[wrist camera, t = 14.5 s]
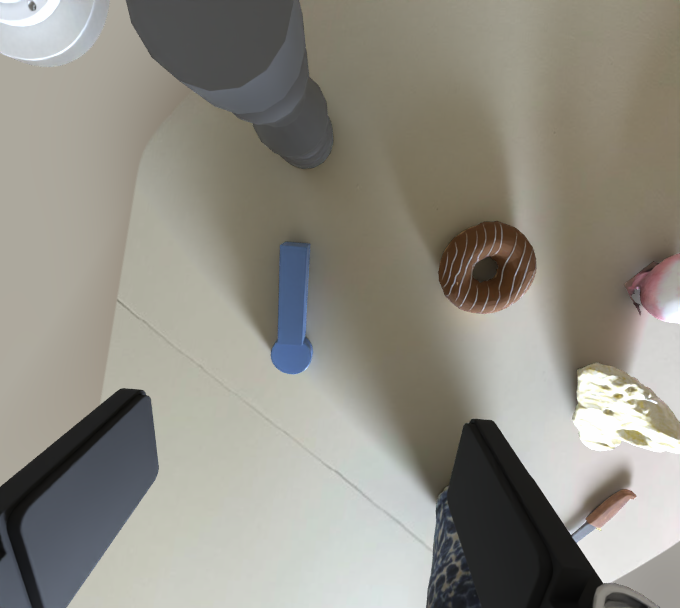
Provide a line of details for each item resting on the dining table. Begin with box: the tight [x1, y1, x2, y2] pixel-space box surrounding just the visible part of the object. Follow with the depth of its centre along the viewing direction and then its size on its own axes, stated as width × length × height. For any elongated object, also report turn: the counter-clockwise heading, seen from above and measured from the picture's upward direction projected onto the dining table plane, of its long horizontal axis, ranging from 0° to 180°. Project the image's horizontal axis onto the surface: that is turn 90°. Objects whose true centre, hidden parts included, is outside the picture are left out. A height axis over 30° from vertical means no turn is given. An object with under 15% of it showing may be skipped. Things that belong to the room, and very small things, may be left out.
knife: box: [571, 489, 637, 543], centre depth 49 cm, size 17×1×3 cm
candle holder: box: [126, 0, 333, 169], centre depth 22 cm, size 6×6×25 cm
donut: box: [438, 221, 536, 314], centre depth 36 cm, size 11×11×4 cm
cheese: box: [572, 362, 680, 453], centre depth 40 cm, size 15×7×15 cm
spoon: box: [271, 242, 313, 374], centre depth 39 cm, size 17×5×3 cm, turn 175°
